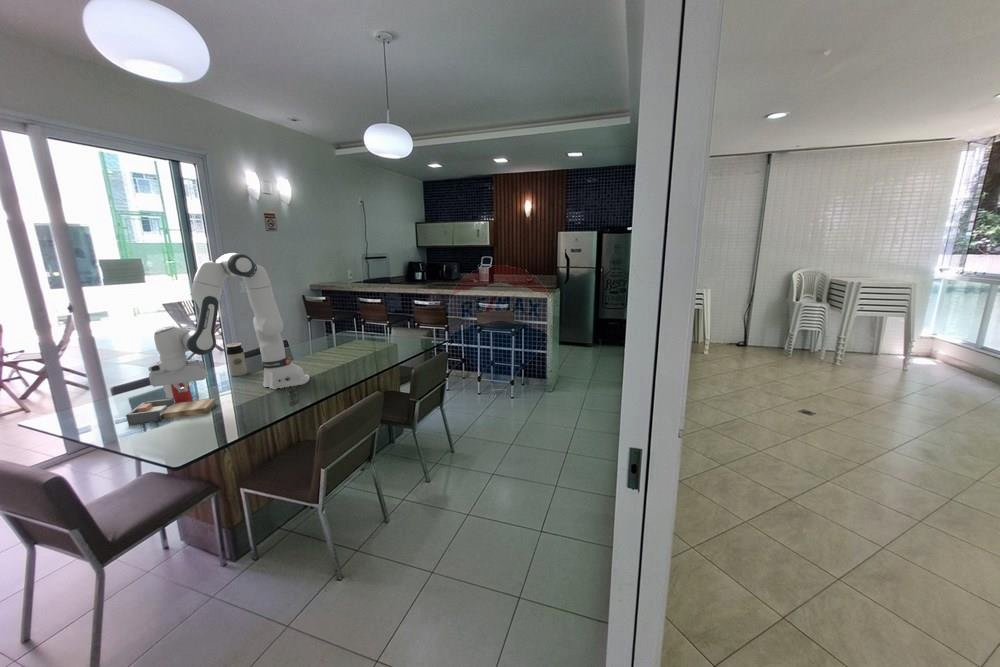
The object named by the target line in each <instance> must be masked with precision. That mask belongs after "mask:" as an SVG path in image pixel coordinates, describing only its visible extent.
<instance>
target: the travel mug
mask: <svg viewBox="0 0 1000 667" xmlns="http://www.w3.org/2000/svg"><path fill="white" fill-rule="evenodd" d="M225 347H226V348H227V349H226V351H225V352H226V356H227V361H228V364H229V371H230V376H232V377H240V376H239V375H241V376H244V375H246V374H248V368H247V362H246V358H245V353H244V348H243V347H242V343H241V342H233V343H228V344H226V345H225Z"/></svg>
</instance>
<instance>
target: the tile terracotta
mask: <svg viewBox="0 0 1000 667" xmlns="http://www.w3.org/2000/svg"><path fill="white" fill-rule="evenodd" d="M152 407H153V406H152V403H148V404H143V405H141V406H140V407H139V408H137V409H138V413H140V412H147V411H149V410H150V409H151V408H152Z"/></svg>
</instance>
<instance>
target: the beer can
mask: <svg viewBox="0 0 1000 667" xmlns="http://www.w3.org/2000/svg"><path fill="white" fill-rule="evenodd" d="M189 384H190V383H189ZM189 384H188V386H187V388H188V391H186V392H179V391H178V389H177V388H175V387H174V386H173V384H171V389H172V393H173V397H174V399H173V400H174V403H182V402H190V401H194V400H193V397H192V396H193V395H192V392H191V387H189ZM179 386H180V387H184V386H185V385H183V383H179Z"/></svg>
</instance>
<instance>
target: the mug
mask: <svg viewBox="0 0 1000 667" xmlns="http://www.w3.org/2000/svg"><path fill="white" fill-rule="evenodd" d="M193 382H194V381H191V382H189V387H190V388H191V387H192V385H193ZM163 390H164V394H165V397H166V399H172V398H173V400H174V397H173V393H172V389H171V384H170V385H163Z"/></svg>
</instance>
